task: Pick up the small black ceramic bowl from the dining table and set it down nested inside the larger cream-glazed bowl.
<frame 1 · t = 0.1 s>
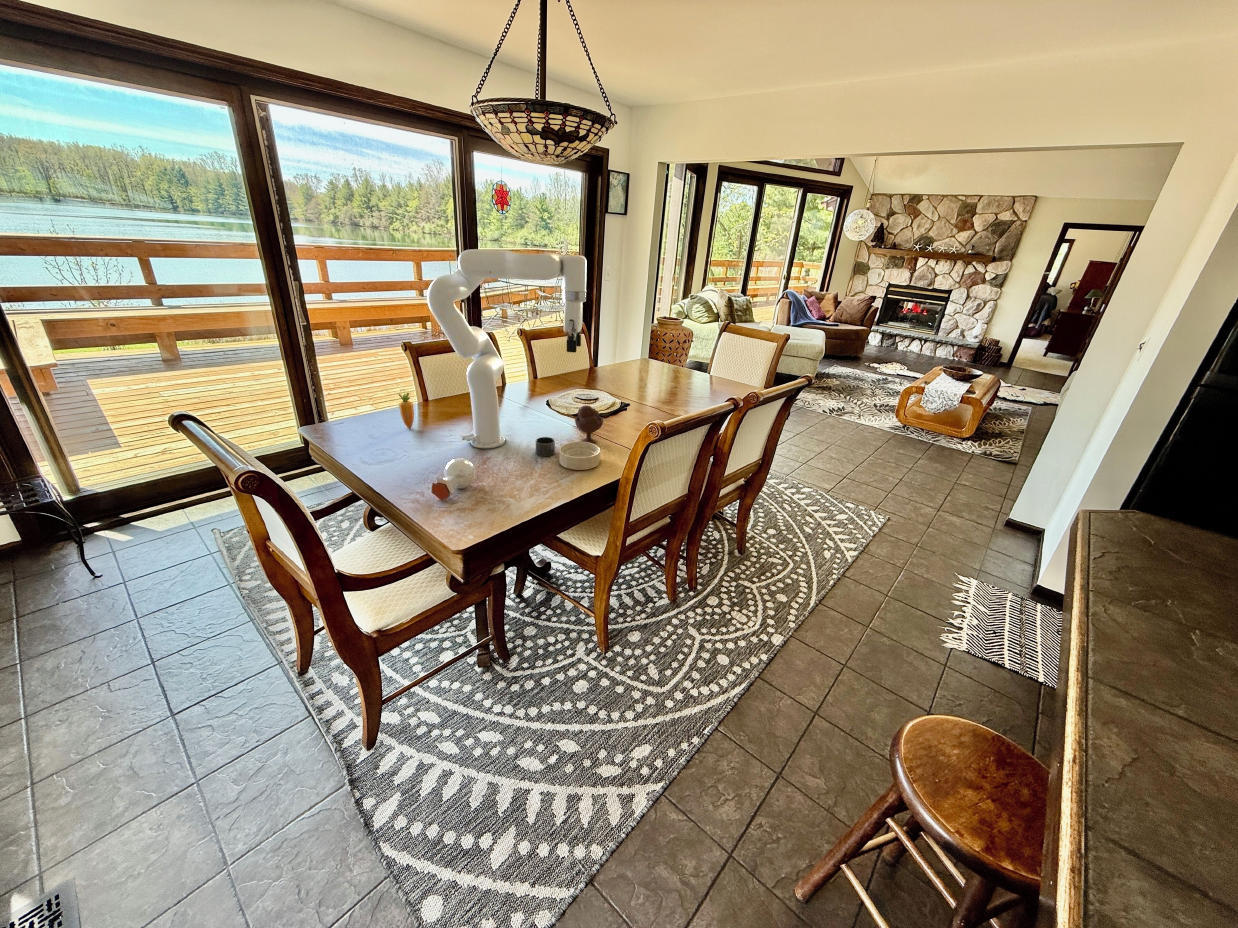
hand: (573, 349, 164), 37 cm above the table, tool pointing down, fingers open, 9 cm apart
carrot: (409, 429, 190), on the table
black bowl: (545, 453, 175), on the table
ice cream bowl: (588, 442, 186), on the table
cream bowl: (579, 462, 169), on the table
potion bottle: (456, 491, 147), on the table
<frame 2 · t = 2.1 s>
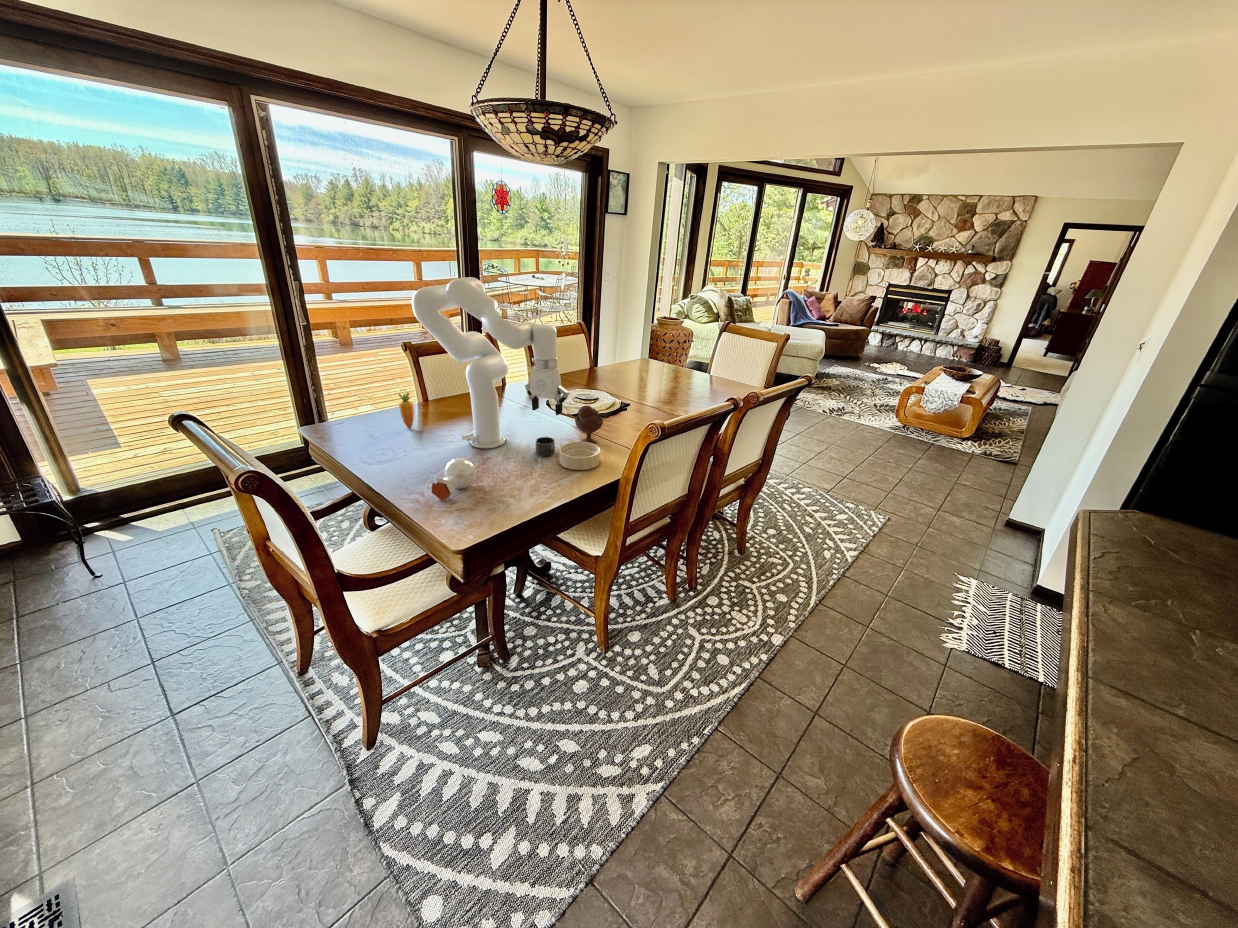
hand: (547, 411, 168), 16 cm above the table, tool pointing down, fingers open, 9 cm apart
nothing on the table moved.
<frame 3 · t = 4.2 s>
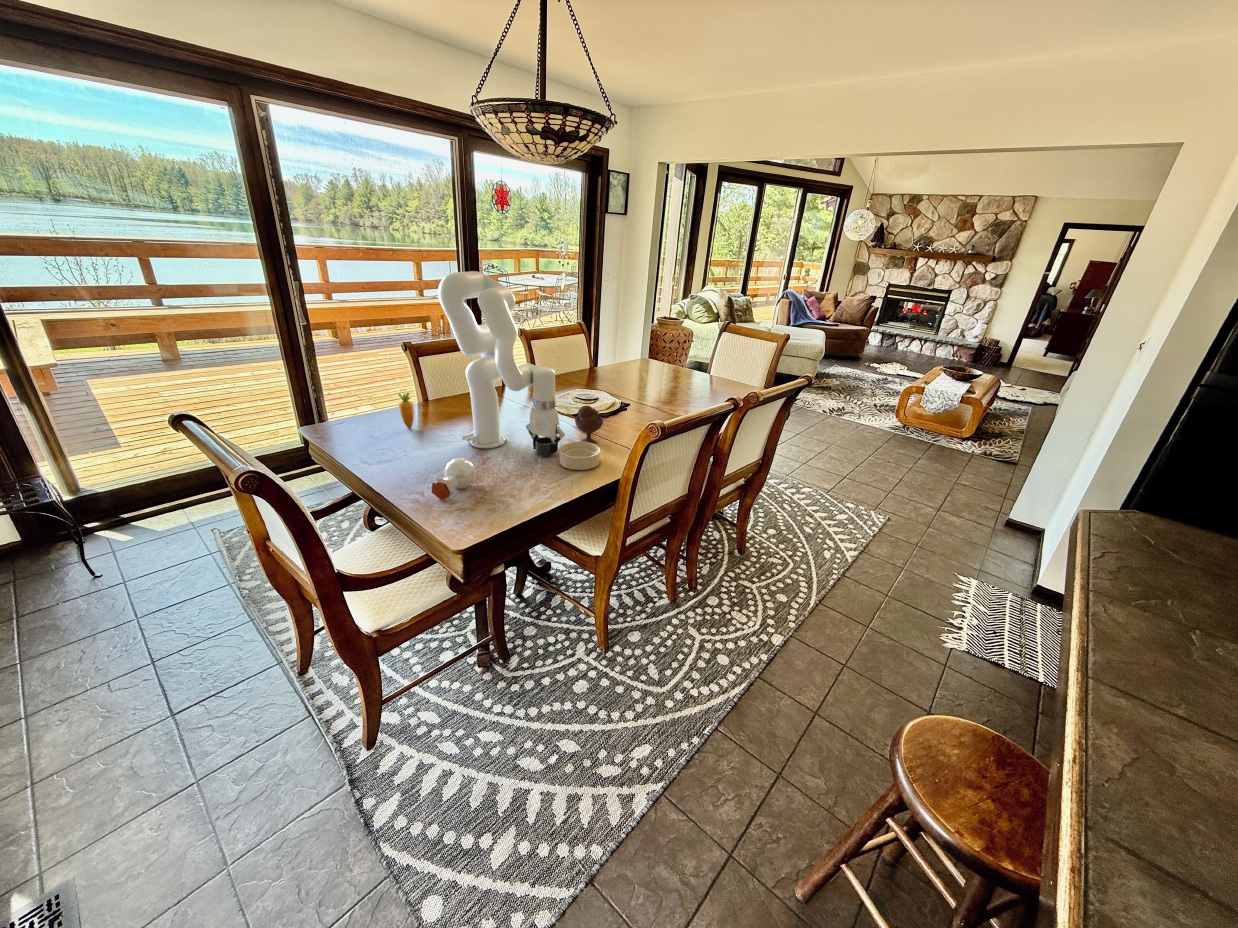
hand: (545, 450, 174), 1 cm above the table, tool pointing down, fingers closed on black bowl, 7 cm apart
black bowl: (545, 453, 175), on the table, touching gripper
everything else where it was.
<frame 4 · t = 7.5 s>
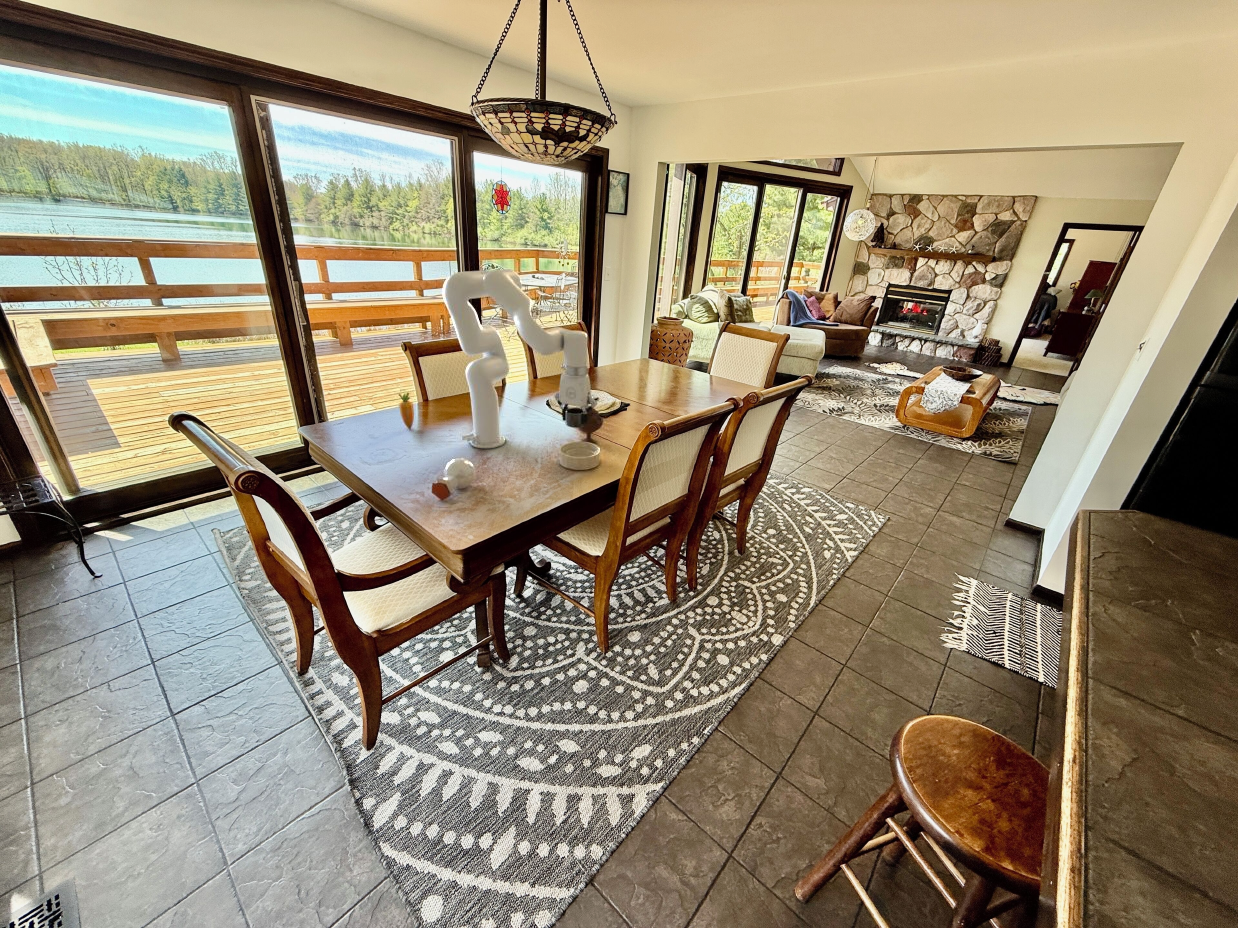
hand: (575, 421, 163), 15 cm above the table, tool pointing down, fingers closed on black bowl, 7 cm apart
black bowl: (575, 424, 164), point 14 cm above the table, touching gripper
everything else where it was.
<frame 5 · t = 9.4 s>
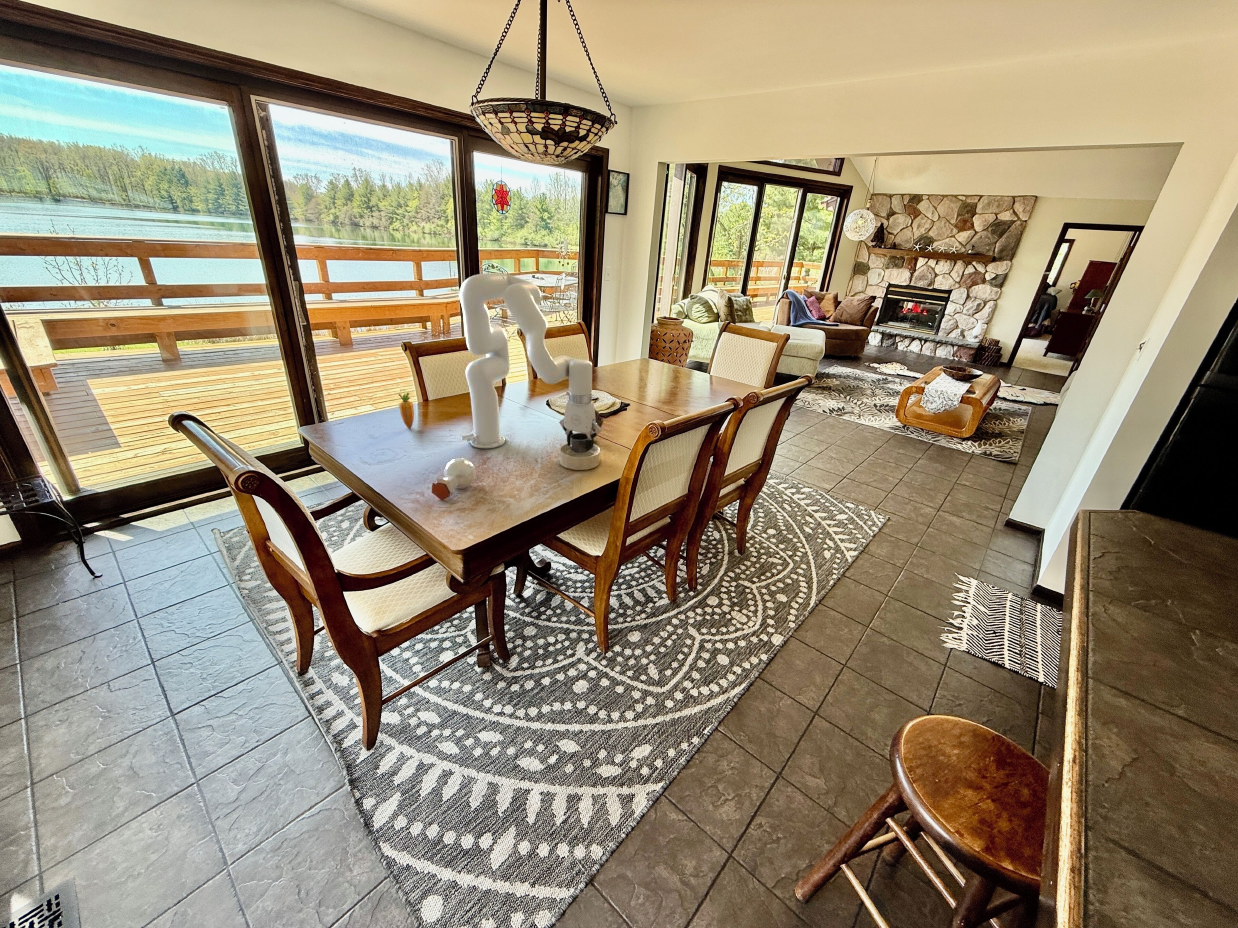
hand: (580, 446, 167), 6 cm above the table, tool pointing down, fingers closed on black bowl, 7 cm apart
black bowl: (580, 449, 167), point 5 cm above the table, touching gripper
everything else where it was.
when the fingers open (2 cm above the table, at t = 11.5 s): black bowl stays where it is, resting on cream bowl.
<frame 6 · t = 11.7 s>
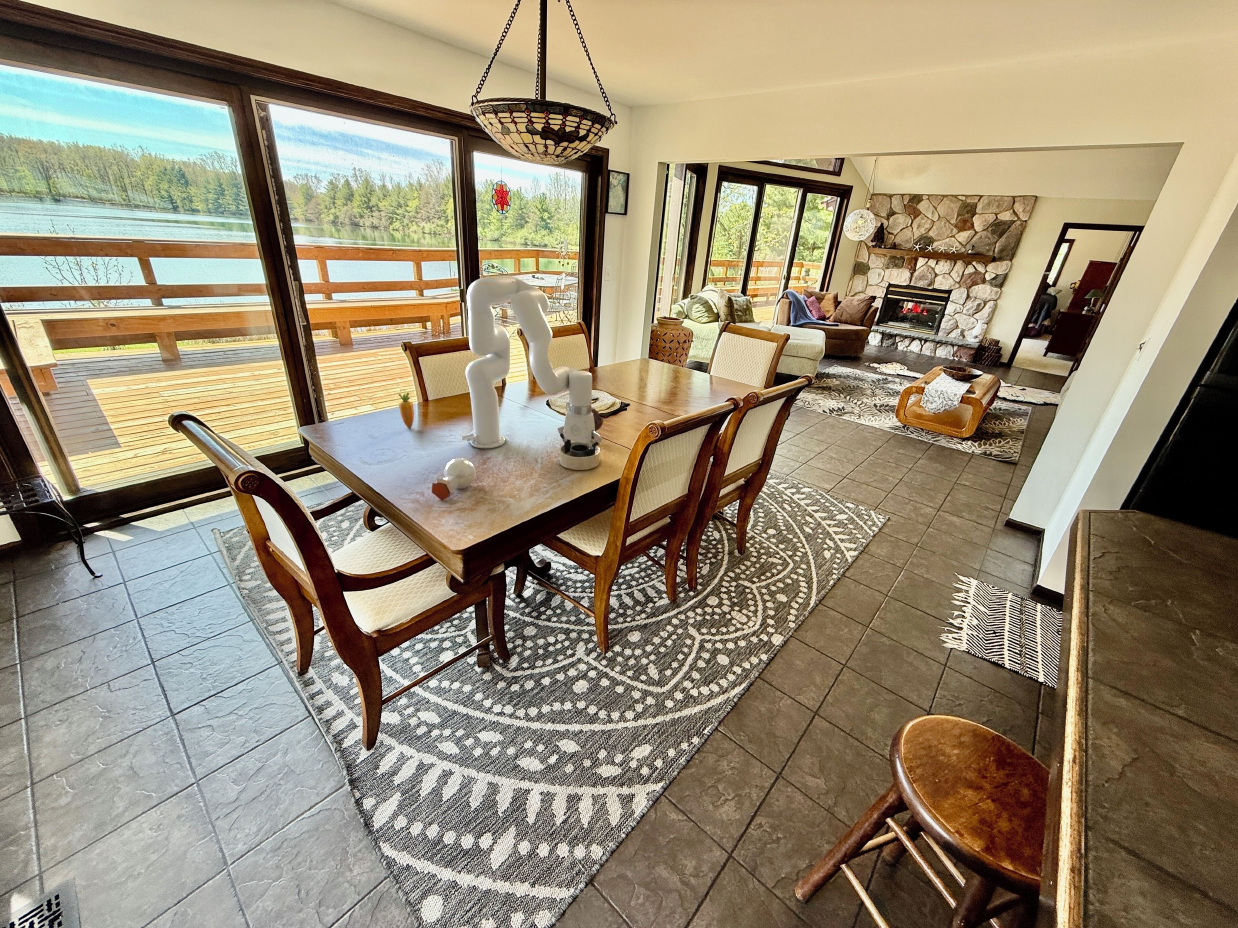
hand: (579, 454, 168), 3 cm above the table, tool pointing down, fingers open, 9 cm apart
black bowl: (579, 461, 169), resting on cream bowl
everything else where it was.
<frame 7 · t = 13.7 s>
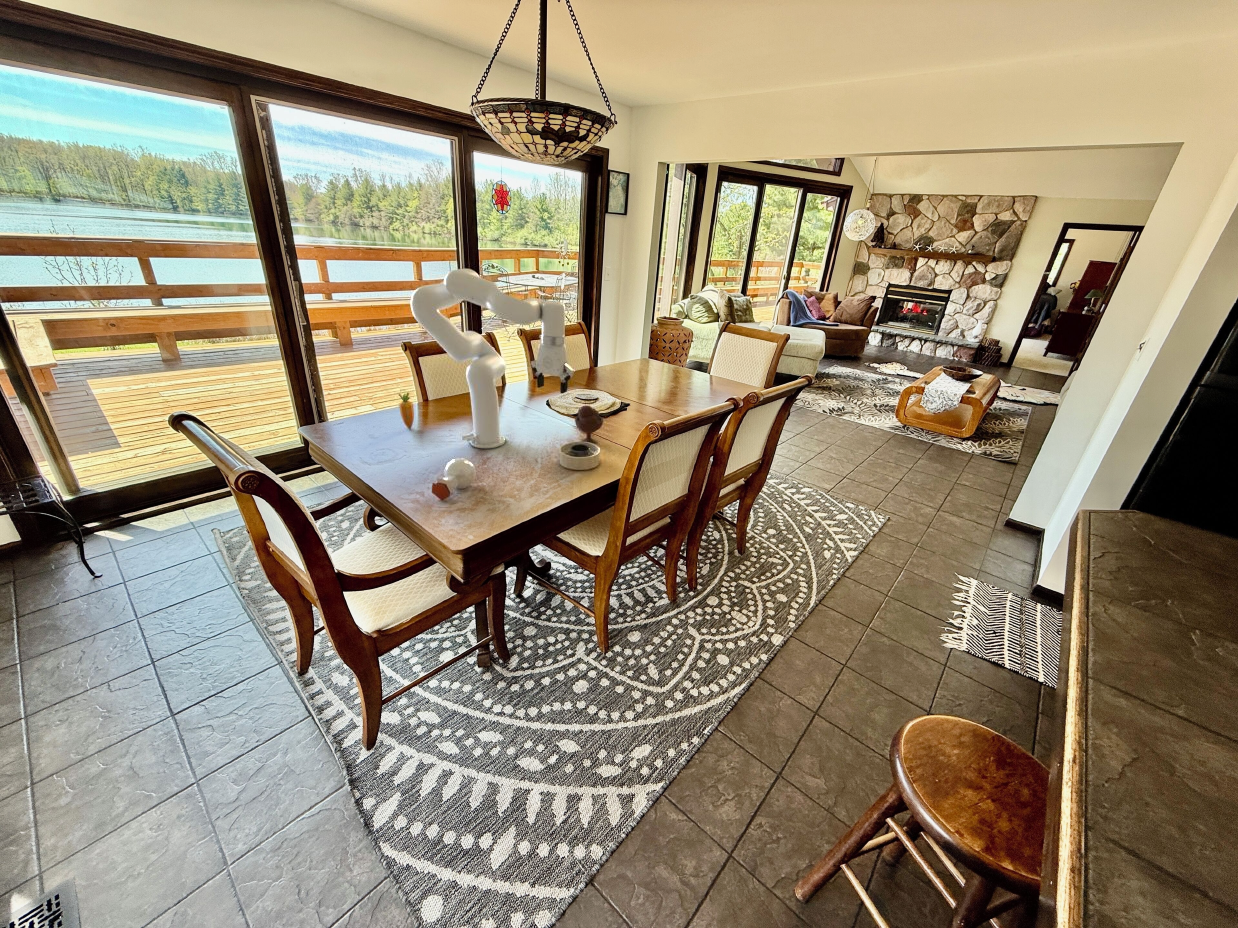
hand: (551, 389, 168), 23 cm above the table, tool pointing down, fingers open, 9 cm apart
nothing on the table moved.
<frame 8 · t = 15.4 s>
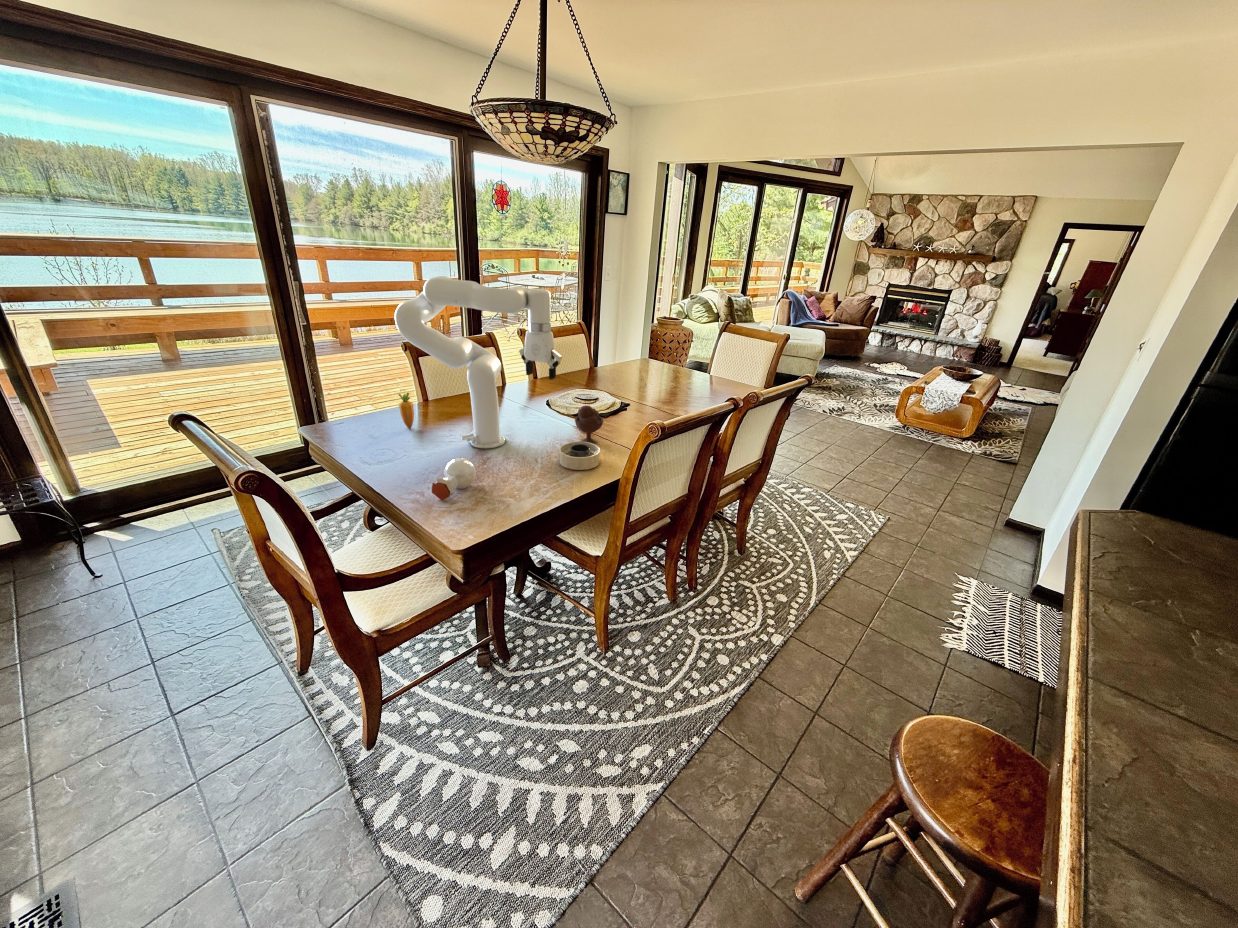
hand: (540, 376, 171), 26 cm above the table, tool pointing down, fingers open, 9 cm apart
nothing on the table moved.
at the end: black bowl 0.1 cm off-centre in the cream bowl, point 0.5 cm above the cream bowl's base; black bowl tilted 0° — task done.
